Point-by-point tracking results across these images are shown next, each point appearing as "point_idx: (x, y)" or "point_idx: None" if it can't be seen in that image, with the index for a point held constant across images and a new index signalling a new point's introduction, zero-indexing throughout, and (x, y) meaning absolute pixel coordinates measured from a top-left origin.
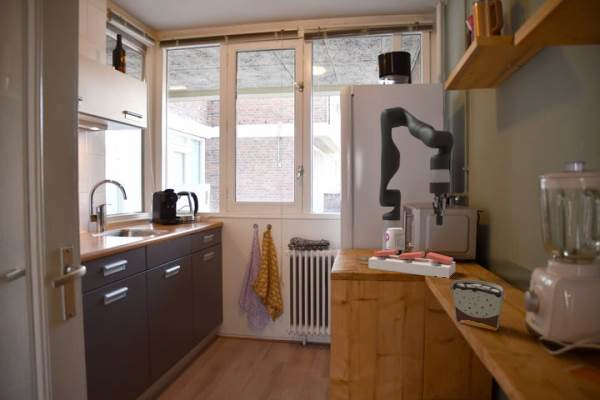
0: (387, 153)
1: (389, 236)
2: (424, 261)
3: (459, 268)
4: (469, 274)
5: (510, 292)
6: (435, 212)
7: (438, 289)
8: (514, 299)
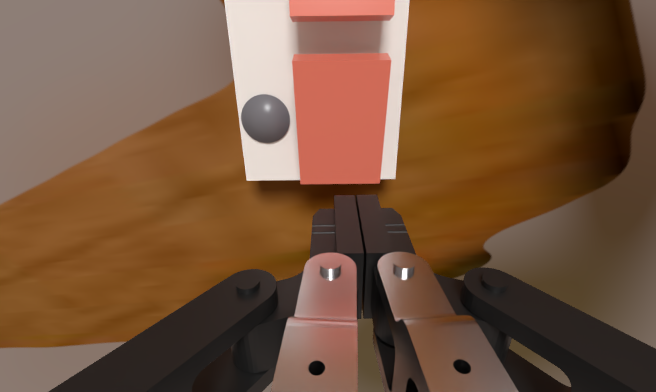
0: None
1: None
2: (327, 35)
3: (466, 163)
4: None
5: None
6: (217, 309)
7: (75, 165)
8: None
